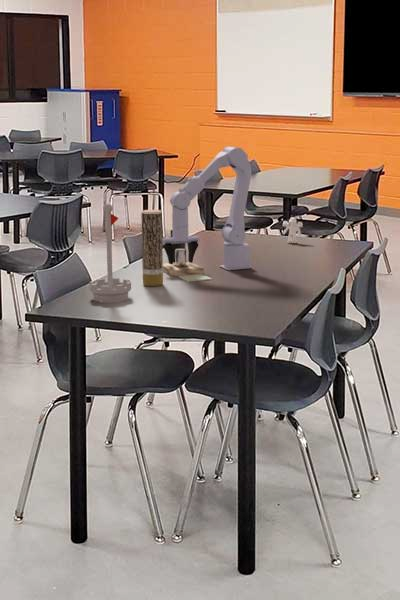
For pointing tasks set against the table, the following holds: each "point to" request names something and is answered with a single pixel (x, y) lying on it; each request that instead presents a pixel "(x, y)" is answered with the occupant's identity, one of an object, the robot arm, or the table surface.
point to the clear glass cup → (180, 258)
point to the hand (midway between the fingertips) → (180, 263)
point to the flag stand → (110, 271)
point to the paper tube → (152, 247)
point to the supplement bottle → (177, 246)
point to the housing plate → (182, 269)
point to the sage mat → (195, 277)
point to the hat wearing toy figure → (292, 228)
